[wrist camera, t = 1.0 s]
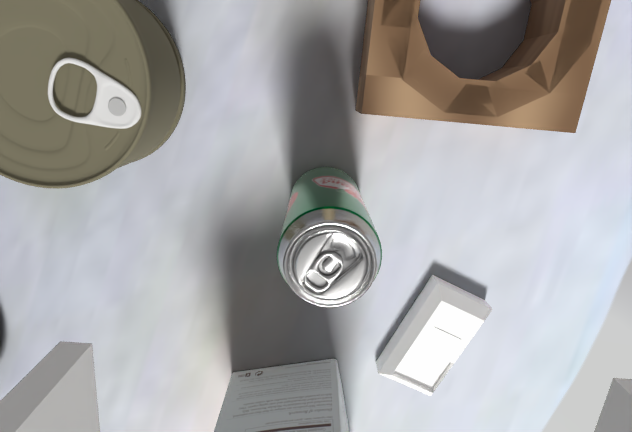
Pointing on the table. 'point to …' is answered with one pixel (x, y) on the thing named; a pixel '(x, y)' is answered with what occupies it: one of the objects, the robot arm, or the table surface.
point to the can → (83, 88)
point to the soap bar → (432, 335)
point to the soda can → (328, 240)
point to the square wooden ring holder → (491, 90)
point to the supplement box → (285, 399)
